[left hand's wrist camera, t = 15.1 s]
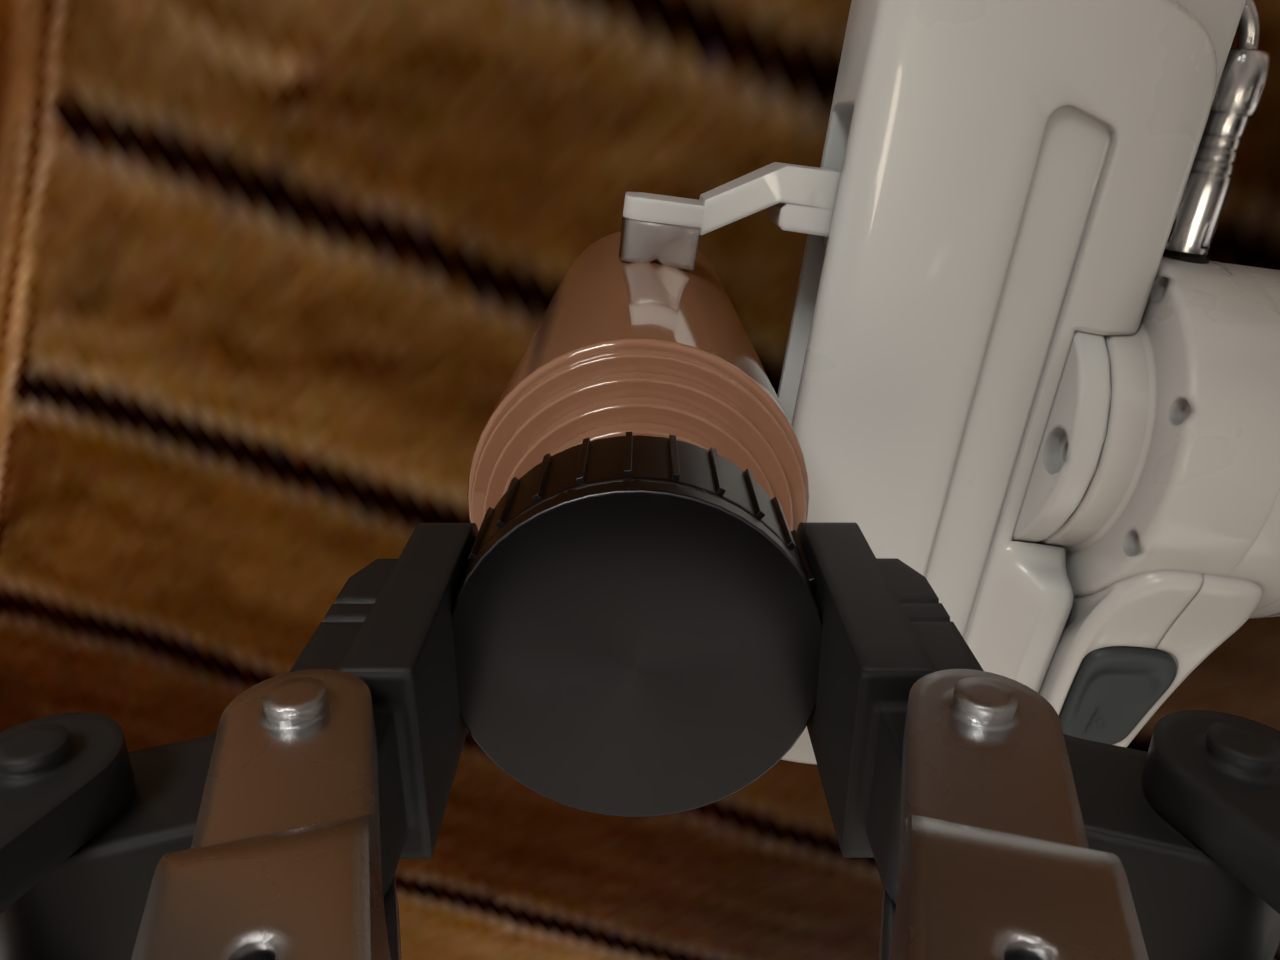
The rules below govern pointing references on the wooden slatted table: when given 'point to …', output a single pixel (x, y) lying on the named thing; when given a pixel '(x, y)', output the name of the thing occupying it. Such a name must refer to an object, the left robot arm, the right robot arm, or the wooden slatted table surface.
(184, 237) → the wooden slatted table surface
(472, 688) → the cap
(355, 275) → the wooden slatted table surface
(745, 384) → the bottle
